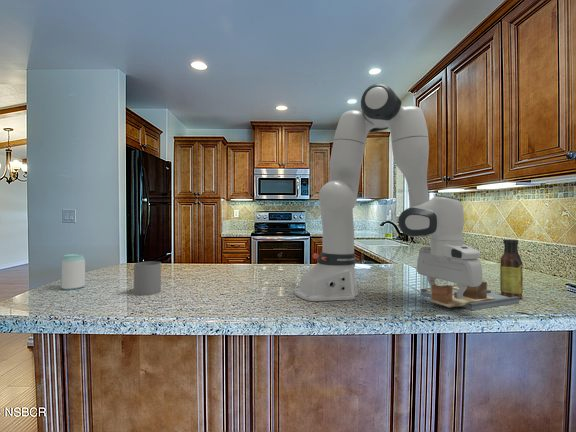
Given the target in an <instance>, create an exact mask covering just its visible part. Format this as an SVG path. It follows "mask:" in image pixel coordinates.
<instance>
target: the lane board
mask: <svg viewBox="0 0 576 432" xmlns="http://www.w3.org/2000/svg"><path fill="white" fill-rule="evenodd" d="M451 286H453V293H452V295H454V292H457V291H458V290H459V288H458V287H457V284H454V285H451ZM420 295H422V296H426V297H429V298H432V291H431V290H430V287H428V288H421V289H420ZM487 296H489V297H493V298H495V300H488V301H481V302H474V303H469V305H463V306H459V307H460V308H463V309H466V310H470V311H475V310H483V308H484V309H489V307H490V308H495V307H494V306H496V307H500V306H501V305H502V306H506V305H507V304H508V305H514V303H515V304H520V298H519V297H516V296H515V297H506V296H502V295H501V294H497V293H494V292H492V290H491V289H487ZM508 305H507V306H508Z"/></svg>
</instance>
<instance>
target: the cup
mask: <svg viewBox="0 0 576 432" xmlns="http://www.w3.org/2000/svg"><path fill="white" fill-rule="evenodd" d="M161 289H162V262H161V261H151V260H149V261H141V262H134V264H133V294H134V295H135V296H141V297H142V296H152V295H157V294H159V293H161V291H162V290H161Z"/></svg>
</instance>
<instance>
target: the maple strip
mask: <svg viewBox="0 0 576 432" xmlns="http://www.w3.org/2000/svg"><path fill="white" fill-rule="evenodd" d="M452 293H453V286H452V285H450V284H447V285H437V284H436V285H432V297H429V302H431V303H435V304H438V305H441V306H444V307H446V308H455V307H456V308H457V307H460V306H463V305H469V303H474V302H481V301H488V300H495V298H493V297H489V296H487V298H484V299H477V300H475V299H472V298H468V297H465V296H463V299H456V298H454V296H455V295H452Z"/></svg>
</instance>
